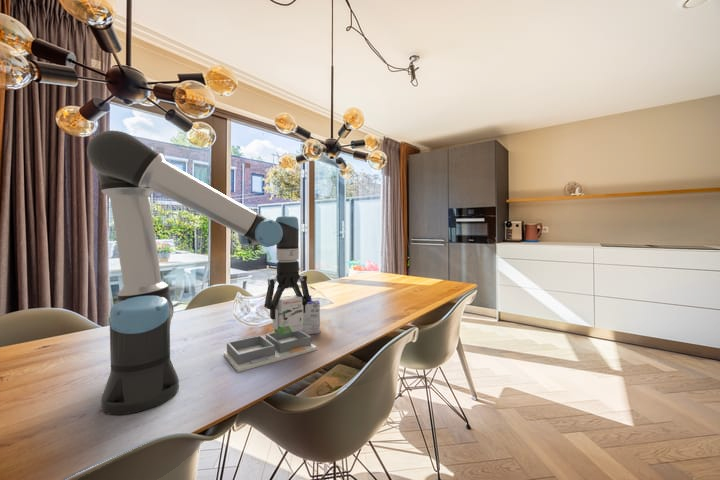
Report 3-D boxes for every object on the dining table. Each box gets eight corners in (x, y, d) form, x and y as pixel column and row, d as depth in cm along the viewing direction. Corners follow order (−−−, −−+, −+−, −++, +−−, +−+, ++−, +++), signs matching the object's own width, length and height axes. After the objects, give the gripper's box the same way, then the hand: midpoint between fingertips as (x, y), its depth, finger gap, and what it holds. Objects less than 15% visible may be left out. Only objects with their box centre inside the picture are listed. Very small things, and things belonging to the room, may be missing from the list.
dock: (237, 372, 85) (237, 358, 85) (223, 355, 97) (223, 342, 97) (316, 349, 101) (316, 337, 101) (296, 337, 113) (296, 326, 113)
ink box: (281, 335, 99) (280, 300, 99) (274, 331, 103) (273, 297, 102) (303, 329, 105) (303, 296, 105) (295, 326, 109) (295, 294, 108)
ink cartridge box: (318, 329, 123) (318, 294, 122) (320, 333, 118) (320, 297, 117) (294, 331, 120) (294, 295, 120) (295, 335, 115) (294, 298, 114)
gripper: (261, 263, 93) (262, 335, 94) (320, 259, 107) (320, 321, 108) (252, 262, 99) (253, 329, 100) (309, 258, 113) (310, 317, 114)
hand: (288, 325), depth 104 cm, fingers closed on ink box, 9 cm apart
